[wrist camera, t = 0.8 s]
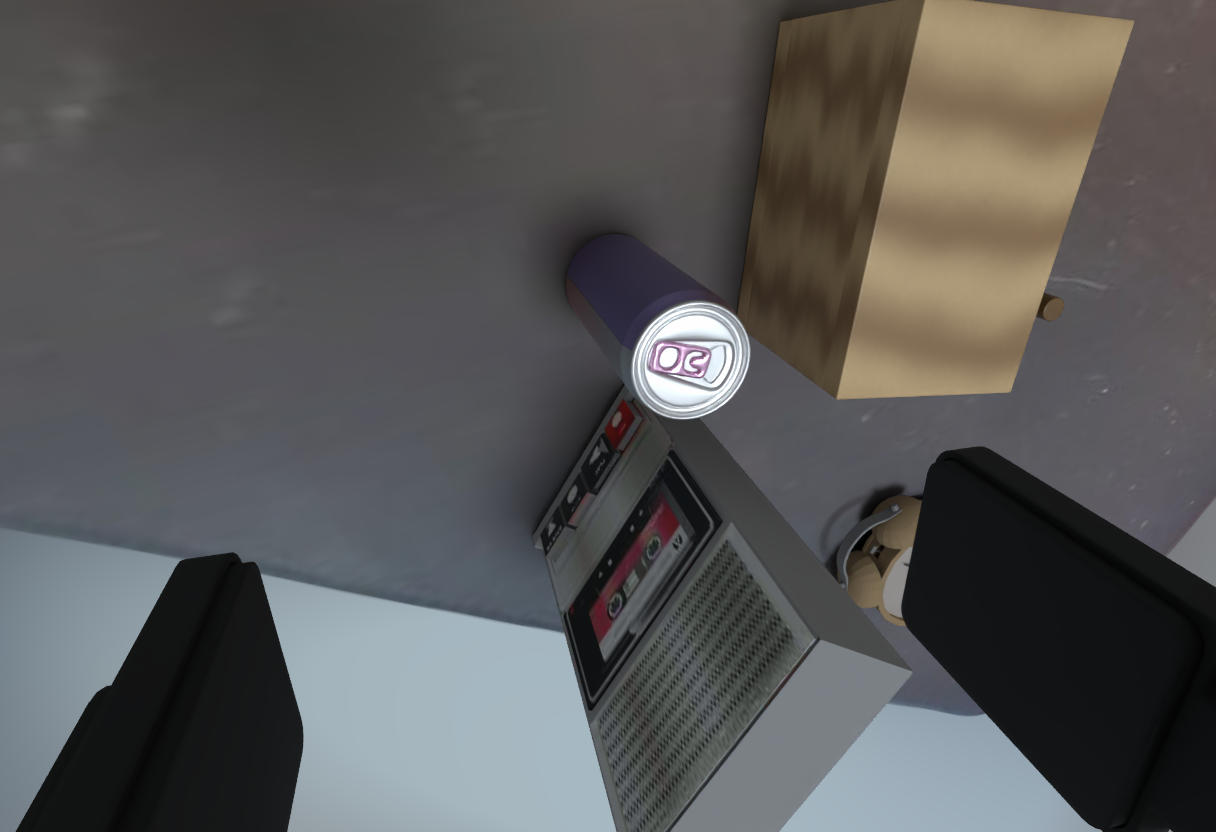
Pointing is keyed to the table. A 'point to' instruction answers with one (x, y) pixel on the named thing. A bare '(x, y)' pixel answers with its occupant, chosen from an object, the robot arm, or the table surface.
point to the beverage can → (658, 327)
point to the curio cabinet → (920, 189)
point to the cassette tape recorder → (703, 633)
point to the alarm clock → (880, 557)
